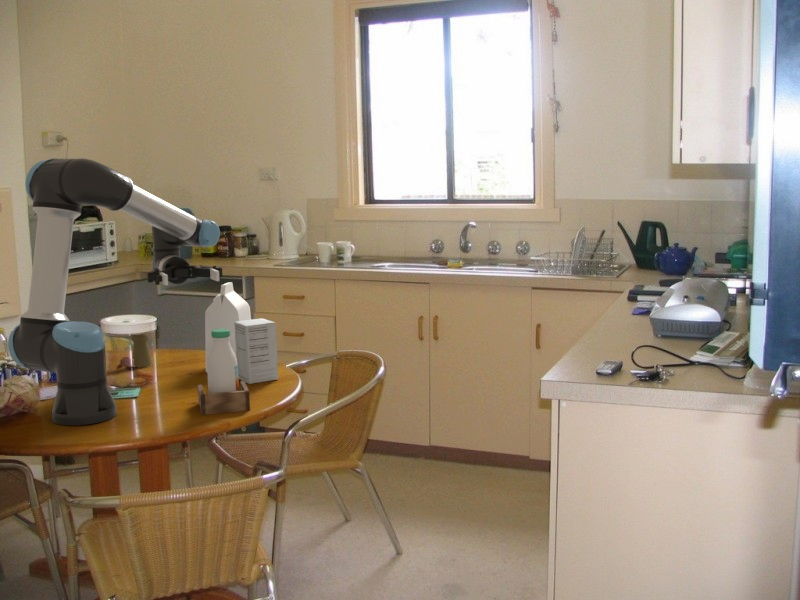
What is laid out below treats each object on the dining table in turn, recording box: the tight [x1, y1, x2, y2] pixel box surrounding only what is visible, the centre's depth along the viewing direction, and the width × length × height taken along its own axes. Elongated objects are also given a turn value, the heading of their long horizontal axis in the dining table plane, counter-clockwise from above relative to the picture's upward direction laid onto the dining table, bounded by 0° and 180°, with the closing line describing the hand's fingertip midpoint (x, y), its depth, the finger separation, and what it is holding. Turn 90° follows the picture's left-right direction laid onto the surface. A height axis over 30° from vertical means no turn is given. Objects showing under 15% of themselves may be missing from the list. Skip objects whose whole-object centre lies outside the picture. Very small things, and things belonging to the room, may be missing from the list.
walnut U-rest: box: [197, 380, 251, 416], centre depth 230 cm, size 12×11×5 cm
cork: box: [130, 333, 153, 368], centre depth 276 cm, size 6×6×11 cm
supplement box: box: [234, 317, 279, 385], centre depth 257 cm, size 10×9×17 cm
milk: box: [204, 281, 252, 374], centre depth 270 cm, size 12×12×26 cm
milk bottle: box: [207, 329, 240, 394], centre depth 229 cm, size 8×8×20 cm
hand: (192, 278), depth 236 cm, fingers open, 13 cm apart
